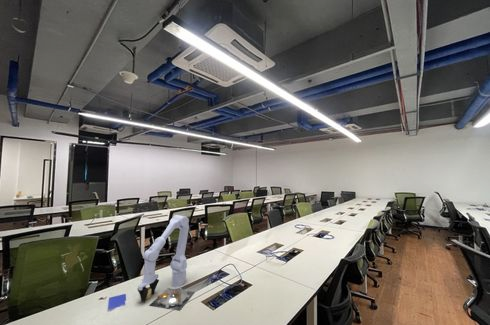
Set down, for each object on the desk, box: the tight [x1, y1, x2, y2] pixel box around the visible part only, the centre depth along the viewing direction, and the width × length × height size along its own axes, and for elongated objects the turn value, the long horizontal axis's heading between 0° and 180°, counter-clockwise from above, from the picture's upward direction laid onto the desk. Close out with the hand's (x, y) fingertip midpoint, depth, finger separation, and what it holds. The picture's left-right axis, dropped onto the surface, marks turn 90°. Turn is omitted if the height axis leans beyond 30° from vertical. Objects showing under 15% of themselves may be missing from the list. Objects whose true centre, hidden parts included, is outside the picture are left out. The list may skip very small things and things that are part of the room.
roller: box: [146, 286, 152, 301], centre depth 112 cm, size 3×3×6 cm
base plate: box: [148, 287, 196, 312], centre depth 112 cm, size 18×18×1 cm
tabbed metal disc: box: [156, 286, 191, 308], centre depth 112 cm, size 18×18×5 cm
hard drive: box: [107, 293, 127, 313], centre depth 108 cm, size 2×8×12 cm
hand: (147, 297), depth 112 cm, fingers open, 7 cm apart
